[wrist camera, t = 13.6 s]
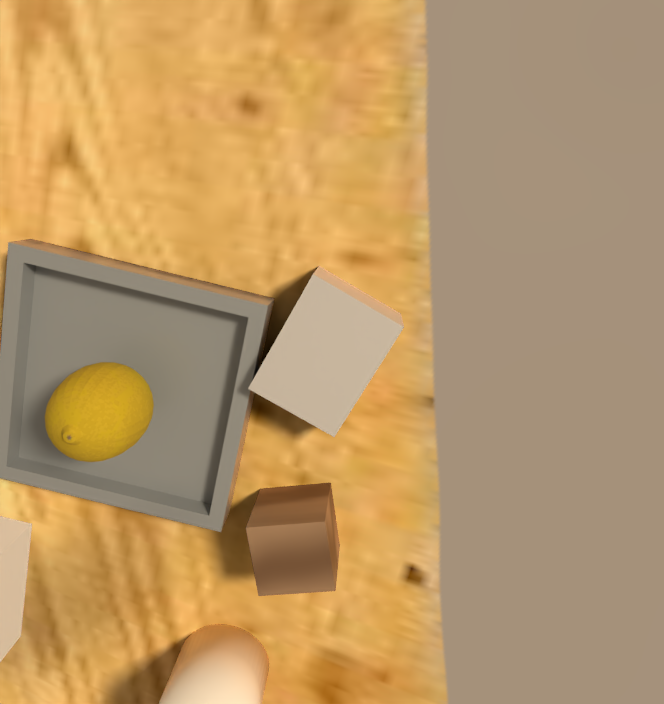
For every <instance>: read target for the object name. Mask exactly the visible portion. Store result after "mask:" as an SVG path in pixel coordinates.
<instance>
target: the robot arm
mask: <svg viewBox="0 0 664 704" xmlns="http://www.w3.org/2000/svg"><path fill="white" fill-rule="evenodd" d="M31 529H32V524H30V523H26V522H22V521H18V520H14V519H10V518H6V517H2V516H0V662H1V661H2V659H3V658H4V657H5V655H6V654H7V653H8V652H9V650H10V649H11V648H12V647H13V645H14V644H15V643H16V641H17V640H18V639H19V638H20V636H21V629H22V619H23V609H24V599H25V589H26V579H27V569H28V559H29V549H30V539H31Z"/></svg>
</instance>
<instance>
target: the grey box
mask: <svg viewBox="0 0 664 704" xmlns="http://www.w3.org/2000/svg"><path fill="white" fill-rule="evenodd" d="M403 328H404V325H403V321H402V316H401V314H400V313H399V312H397V311H395V310H394V309H392V308H390V307H389V306H387V305H385V304H383V303H382V302H380V301H378V300H377V299H375V298H373V297H371V296H370V295H368V294H366V293H365V292H363V291H361V290H360V289H358V288H356V287H354V286H353V285H351V284H349V283H348V282H346V281H344V280H342V279H341V278H339V277H337V276H336V275H334V274H332V273H330V272H329V271H327V270H325V269H324V268H322V267H320V266H319V267H318V268H317V269H316V271H315V272H314V273H313V275H312V277H311V279H310V280H309V282H308V284H307V286H306V287H305V289H304V291H303V293H302V294H301V296H300V298H299V300H298V301H297V303H296V305H295V307H294V309H293V310H292V312H291V314H290V316H289V317H288V319H287V321H286V323H285V324H284V326H283V328H282V330H281V331H280V333H279V335H278V337H277V338H276V340H275V342H274V344H273V346H272V347H271V349H270V351H269V353H268V354H267V356H266V358H265V360H264V361H263V363H262V365H261V367H260V368H259V370H258V372H257V374H256V376H255V377H254V379H253V381H252V383H251V384H250V386H249V388H248V389H249V390H251V391H253V392H255V393H257V394H258V395H260V396H262V397H264V398H265V399H267V400H269V401H271V402H273V403H274V404H276V405H278V406H280V407H281V408H283V409H285V410H287V411H289V412H290V413H292V414H294V415H296V416H298V417H299V418H301V419H303V420H305V421H306V422H308V423H310V424H312V425H314V426H315V427H317V428H319V429H321V430H322V431H324V432H326V433H328V434H330V435H331V436H333V437H335V435H336V434H337V432H338V430H339V429H340V427H341V426H342V424H343V423H344V421H345V419H346V418H347V416H348V415H349V413H350V412H351V410H352V408H353V407H354V405H355V404H356V402H357V400H358V399H359V397H360V396H361V394H362V393H363V391H364V389H365V388H366V386H367V385H368V383H369V382H370V380H371V378H372V377H373V375H374V374H375V372H376V370H377V369H378V367H379V366H380V364H381V363H382V361H383V359H384V358H385V356H386V355H387V353H388V352H389V350H390V348H391V347H392V345H393V344H394V342H395V341H396V339H397V337H398V336H399V334H400V333H401V331H402V329H403Z"/></svg>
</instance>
